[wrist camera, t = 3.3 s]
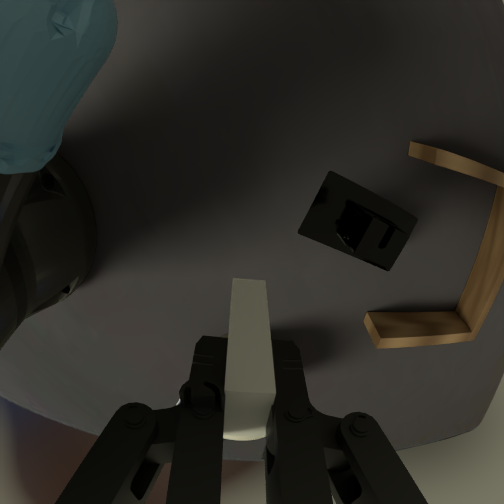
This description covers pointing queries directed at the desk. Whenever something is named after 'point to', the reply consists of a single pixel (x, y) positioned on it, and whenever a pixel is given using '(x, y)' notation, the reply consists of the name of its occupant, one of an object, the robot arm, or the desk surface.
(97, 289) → the desk surface
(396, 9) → the desk surface
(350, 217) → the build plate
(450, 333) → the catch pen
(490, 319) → the desk surface
